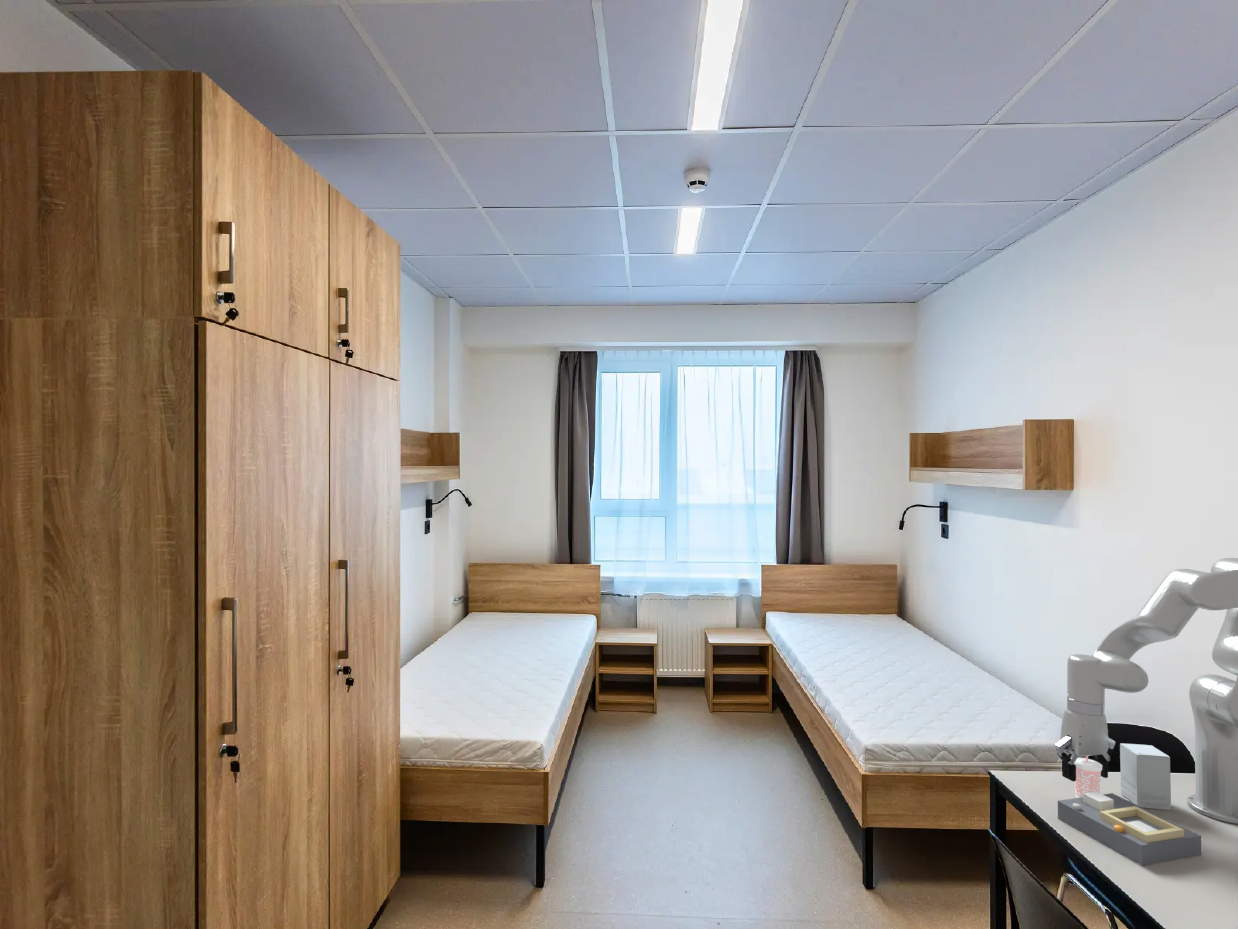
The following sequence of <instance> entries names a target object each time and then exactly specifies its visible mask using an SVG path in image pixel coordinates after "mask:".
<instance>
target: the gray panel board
mask: <svg viewBox="0 0 1238 929" xmlns="http://www.w3.org/2000/svg"><path fill="white" fill-rule="evenodd" d="M1102 794H1103V793H1102ZM1103 795H1105V796H1107V797H1109V798H1111V799H1113V800H1114V809H1112V810H1105V811H1100V812H1099V811H1097V810H1095V809H1093V808H1092V807H1090V806H1088V805H1086V804H1084V803H1083V797H1081V798H1076V797H1074V798H1068V799H1061V800H1060V799H1059V800H1057V819H1058V820H1060V821H1062V822H1064V823H1065V824H1068V825H1069V826H1071V827H1073V828H1075V829H1077V830H1078V831H1080V832H1081V833H1083V834H1086V835H1087V836H1088V837H1090V838H1092V839H1094V840H1096V841H1098V842H1100V843H1101V844H1103V845H1105V846H1107V847H1108V848H1110V849H1112V850H1114V851H1115V852H1116V853H1119V854H1120V855H1122V856H1124V857H1126V858H1128V859H1130V861H1132V862H1133V861H1134V862H1135V863H1137V864H1138V865H1140V866H1146V865H1152V864H1158V863H1165V862H1171V861H1177V860H1181V859H1187V858H1192V857H1199V856H1202V854H1203V853H1202V852H1203V851H1202V835H1201V834H1199V833H1196V832H1195V831H1192V830H1190V829H1188V828H1185V827H1184V826H1182V825H1179V824H1177V823H1175V822H1173V821H1171V820H1169V819H1167V818H1165V817H1162V816H1161V815H1158V814H1157V813H1154V812H1153V811H1150V810H1148V809H1147V808H1143V807H1140V806H1138V805H1136V804H1134V803H1132V802H1131V801H1130V800H1128V799H1126V798H1123V797H1121V796H1119V795H1117V794H1115V793H1112V792H1111V793H1106V794H1105V793H1104V794H1103ZM1132 821H1140V822H1142V823H1144V824H1146V825H1148V826H1150V827H1152V828H1154V829H1156V830H1157V831H1150V832H1144V831H1142V830H1140V829H1138V828H1136V827H1134V826H1132V825H1130V824H1128V823H1126V822H1132Z"/></svg>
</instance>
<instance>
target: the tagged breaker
mask: <svg viewBox="0 0 1238 929" xmlns="http://www.w3.org/2000/svg"><path fill="white" fill-rule="evenodd" d="M1126 823H1128V824H1130V825H1132V826H1134V827H1136V828H1138V829H1140V830H1142V831H1144V832H1150V831H1157V830H1156V829H1154V828H1152V827H1150V826H1148V825H1146V824H1144V823H1142V822H1140V821H1132V822H1126Z"/></svg>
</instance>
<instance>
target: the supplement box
mask: <svg viewBox="0 0 1238 929" xmlns="http://www.w3.org/2000/svg"><path fill="white" fill-rule="evenodd" d="M1119 753H1120V754H1119V759H1120V760H1119V761H1120V765H1119V766H1120V794H1121V795H1122V796H1124V797H1125V799H1126V800H1127V801H1130V802H1132V803H1134V804H1136V805H1138V806H1140V807H1142V808H1144V809H1153V810H1154V809H1155V810H1164V811H1165V810H1166V811H1171V810H1172V793H1171V792H1172V790H1171V786H1172V785H1171V757H1170V756H1169V755H1168V754H1166V753H1165V752H1163V751H1162V750H1160V749H1158V748H1156V747H1155V746H1154V745H1152V744H1151V745H1150V744H1149V745H1148V744H1138V743H1137V744H1136V743H1121V742H1120V743H1119Z"/></svg>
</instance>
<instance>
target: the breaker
mask: <svg viewBox="0 0 1238 929" xmlns="http://www.w3.org/2000/svg"><path fill="white" fill-rule="evenodd" d="M1083 803H1084V804H1086V805H1088V806H1090V807H1092V808H1093V809H1095V810H1097V811H1099V812H1100V811H1105V810H1112V809H1114V800H1113V799H1111V798H1109V797H1107V796H1105V795H1103V793H1101V792H1100V793H1099V792H1090V793H1083Z"/></svg>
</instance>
